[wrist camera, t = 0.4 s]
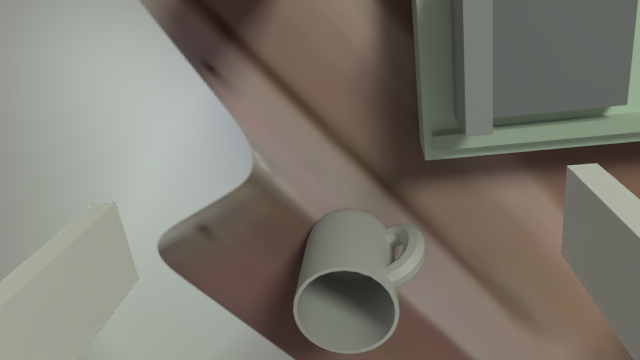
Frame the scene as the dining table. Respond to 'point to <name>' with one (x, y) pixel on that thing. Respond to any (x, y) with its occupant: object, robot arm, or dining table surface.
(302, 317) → the cup
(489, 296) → the dining table surface
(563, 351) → the dining table surface
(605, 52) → the shutter lid
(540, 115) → the socket block
